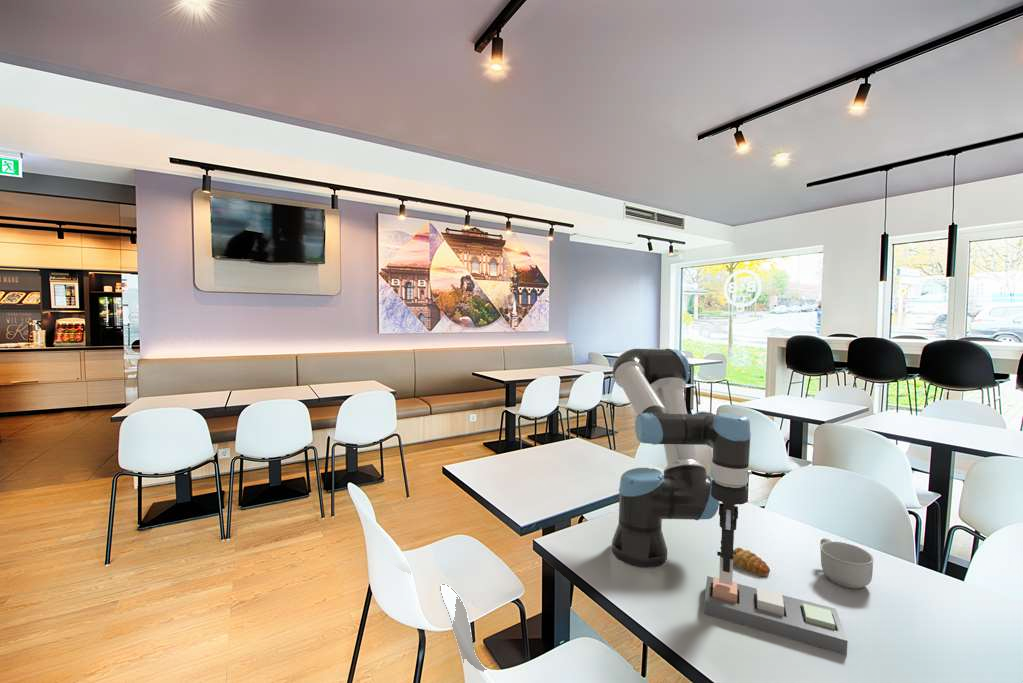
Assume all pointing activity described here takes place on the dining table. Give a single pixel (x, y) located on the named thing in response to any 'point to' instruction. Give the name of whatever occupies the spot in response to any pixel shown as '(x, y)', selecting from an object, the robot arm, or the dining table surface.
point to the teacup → (846, 563)
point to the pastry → (750, 562)
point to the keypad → (776, 618)
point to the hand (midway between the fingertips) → (725, 582)
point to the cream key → (770, 601)
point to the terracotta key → (725, 591)
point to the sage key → (818, 616)
